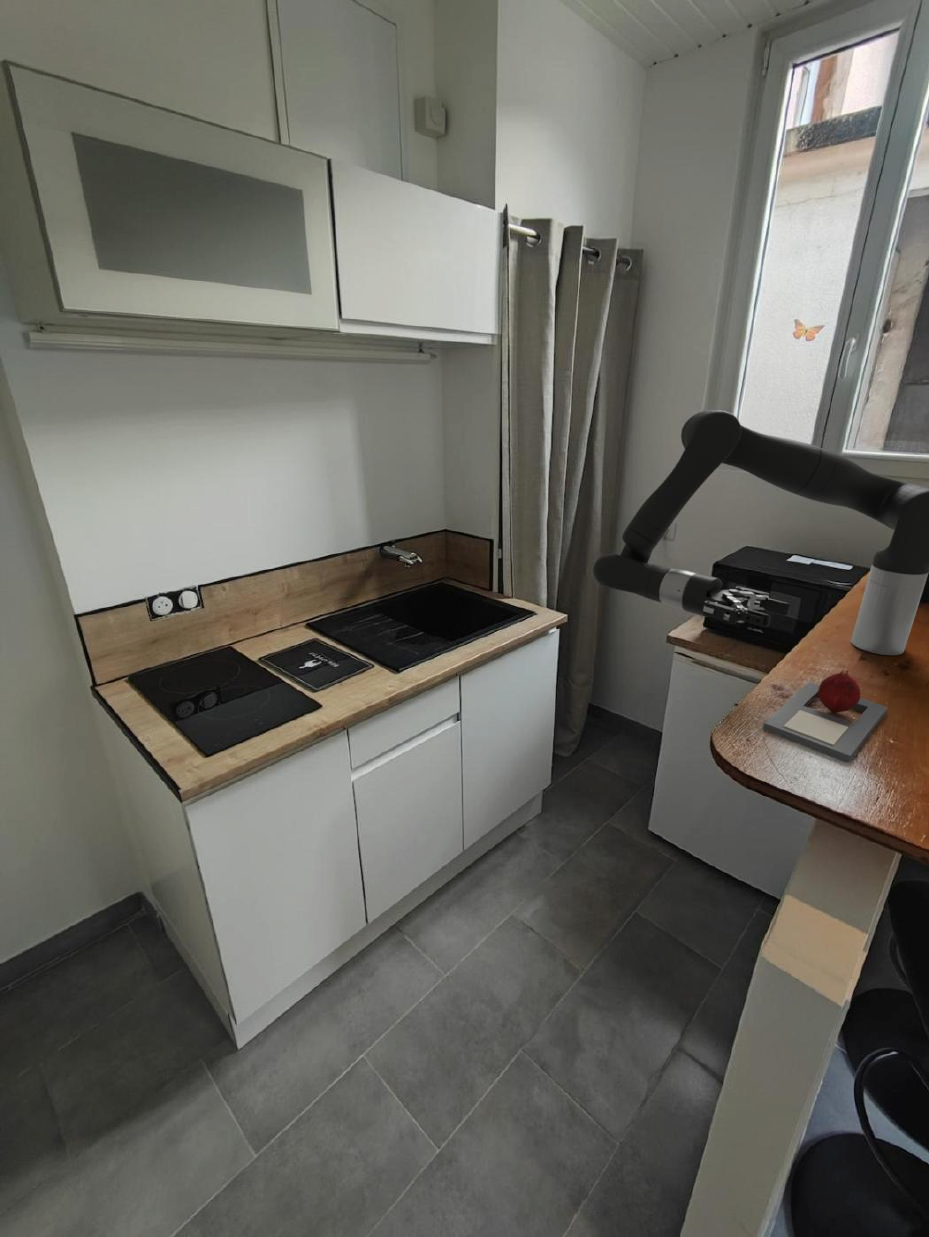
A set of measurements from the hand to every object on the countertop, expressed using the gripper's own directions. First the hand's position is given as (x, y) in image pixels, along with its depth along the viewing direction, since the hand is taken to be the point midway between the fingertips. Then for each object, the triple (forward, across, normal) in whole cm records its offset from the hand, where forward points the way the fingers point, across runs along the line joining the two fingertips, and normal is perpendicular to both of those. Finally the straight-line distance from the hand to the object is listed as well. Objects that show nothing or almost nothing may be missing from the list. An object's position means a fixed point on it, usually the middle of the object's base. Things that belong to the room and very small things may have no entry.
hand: (779, 615), depth 98 cm
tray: (+12, -4, +14) cm, 19 cm away
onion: (+12, 0, +14) cm, 18 cm away
